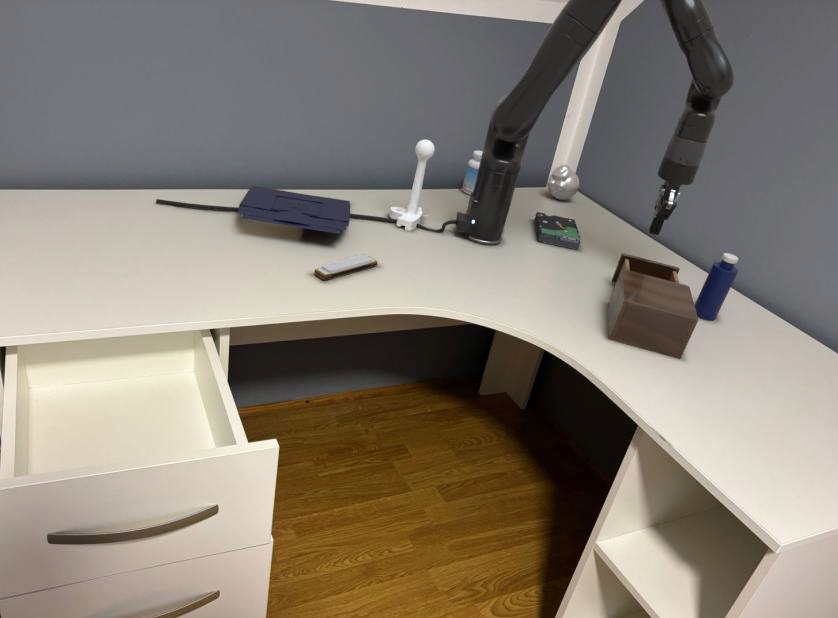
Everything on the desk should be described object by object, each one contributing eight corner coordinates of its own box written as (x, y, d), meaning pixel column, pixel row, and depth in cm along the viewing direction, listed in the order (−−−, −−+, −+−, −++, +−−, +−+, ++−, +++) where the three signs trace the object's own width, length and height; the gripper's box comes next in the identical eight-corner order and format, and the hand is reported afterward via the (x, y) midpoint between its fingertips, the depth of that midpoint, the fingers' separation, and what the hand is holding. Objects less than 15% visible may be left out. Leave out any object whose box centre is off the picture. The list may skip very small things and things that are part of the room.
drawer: (611, 273, 160) (621, 246, 157) (665, 287, 158) (677, 260, 155) (612, 307, 145) (623, 278, 141) (673, 323, 143) (686, 294, 139)
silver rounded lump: (538, 191, 207) (547, 158, 202) (567, 195, 208) (578, 162, 203) (547, 202, 199) (557, 168, 194) (578, 206, 201) (589, 172, 196)
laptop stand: (230, 230, 145) (231, 212, 143) (251, 196, 172) (252, 181, 171) (346, 247, 147) (349, 231, 146) (349, 212, 174) (351, 197, 173)
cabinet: (608, 305, 148) (622, 268, 143) (673, 322, 146) (689, 286, 141) (608, 339, 135) (624, 300, 130) (680, 358, 133) (698, 320, 128)
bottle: (696, 318, 149) (723, 259, 142) (688, 307, 154) (714, 249, 146) (718, 322, 150) (747, 263, 142) (710, 311, 154) (737, 253, 147)
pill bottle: (482, 198, 193) (492, 158, 187) (460, 193, 194) (470, 153, 188) (483, 191, 198) (493, 152, 192) (462, 187, 199) (472, 148, 193)
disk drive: (532, 221, 184) (537, 242, 172) (535, 211, 183) (540, 231, 170) (571, 229, 184) (579, 250, 172) (574, 219, 183) (582, 239, 170)
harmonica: (324, 281, 135) (325, 272, 134) (313, 275, 137) (315, 265, 136) (377, 266, 145) (378, 258, 144) (367, 260, 146) (368, 252, 145)
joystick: (414, 232, 164) (431, 148, 154) (383, 224, 165) (398, 140, 155) (423, 216, 173) (440, 136, 163) (394, 209, 174) (409, 129, 164)
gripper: (662, 147, 156) (635, 219, 165) (667, 162, 145) (638, 239, 154) (696, 154, 155) (667, 227, 164) (704, 170, 143) (672, 247, 152)
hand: (653, 233), depth 159 cm, fingers closed
